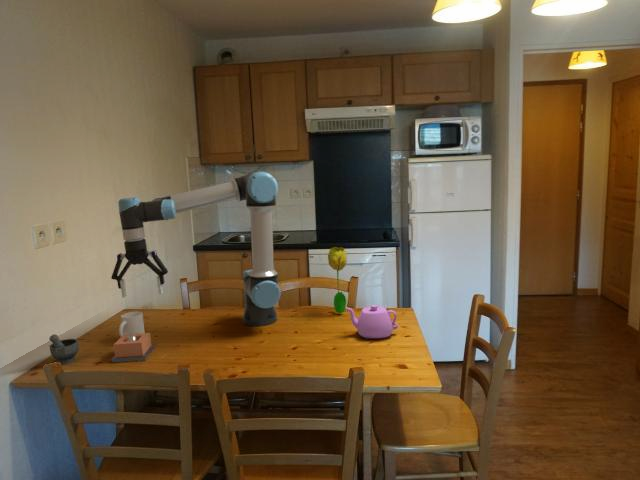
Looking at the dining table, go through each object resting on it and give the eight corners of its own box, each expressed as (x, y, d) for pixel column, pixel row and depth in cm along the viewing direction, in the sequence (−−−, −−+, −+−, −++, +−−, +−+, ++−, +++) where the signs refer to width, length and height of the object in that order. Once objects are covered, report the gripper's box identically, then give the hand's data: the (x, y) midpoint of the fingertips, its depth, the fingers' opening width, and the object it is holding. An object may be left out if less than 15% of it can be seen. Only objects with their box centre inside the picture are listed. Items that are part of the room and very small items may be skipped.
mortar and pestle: (62, 356, 184) (58, 326, 182) (86, 355, 183) (81, 325, 181) (43, 368, 173) (38, 336, 171) (68, 368, 172) (63, 336, 170)
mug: (129, 346, 190) (126, 321, 188) (112, 345, 193) (109, 320, 191) (149, 335, 201) (146, 311, 199) (133, 334, 204) (130, 310, 202)
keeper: (154, 347, 187) (152, 329, 185) (145, 360, 175) (142, 340, 174) (123, 350, 186) (121, 331, 185) (111, 363, 174) (109, 343, 173)
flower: (330, 312, 217) (326, 247, 212) (347, 310, 218) (344, 245, 213) (332, 318, 209) (328, 250, 204) (351, 316, 209) (347, 249, 205)
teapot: (397, 328, 192) (396, 299, 190) (399, 340, 179) (398, 310, 177) (347, 329, 194) (345, 301, 192) (345, 341, 181) (344, 311, 179)
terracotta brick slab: (151, 345, 185) (149, 332, 185) (143, 355, 176) (141, 342, 175) (125, 347, 185) (123, 334, 184) (115, 357, 175) (113, 344, 174)
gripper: (171, 234, 183) (178, 288, 186) (104, 240, 181) (112, 295, 185) (166, 238, 175) (174, 294, 179) (96, 244, 174) (105, 300, 178)
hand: (143, 294), depth 182 cm, fingers open, 13 cm apart
